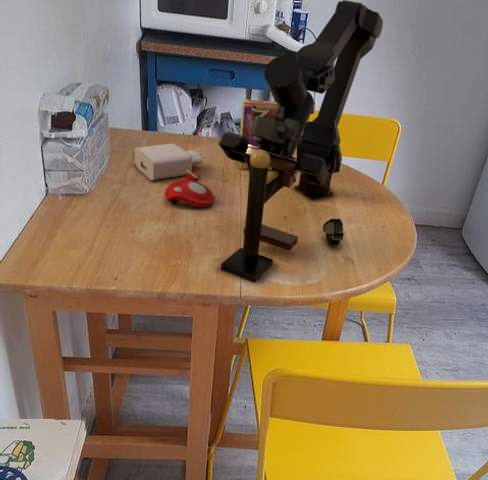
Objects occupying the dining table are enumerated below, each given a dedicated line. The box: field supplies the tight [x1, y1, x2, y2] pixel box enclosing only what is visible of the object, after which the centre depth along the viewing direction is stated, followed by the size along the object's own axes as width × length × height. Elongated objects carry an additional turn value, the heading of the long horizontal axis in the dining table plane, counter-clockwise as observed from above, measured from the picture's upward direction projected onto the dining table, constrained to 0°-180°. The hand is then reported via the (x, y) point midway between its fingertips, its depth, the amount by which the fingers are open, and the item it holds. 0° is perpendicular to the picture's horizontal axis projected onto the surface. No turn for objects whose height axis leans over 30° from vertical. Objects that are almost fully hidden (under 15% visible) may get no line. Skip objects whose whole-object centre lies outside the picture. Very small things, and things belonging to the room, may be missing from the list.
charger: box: [134, 143, 207, 181], centre depth 112 cm, size 5×9×15 cm
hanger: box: [242, 157, 299, 252], centre depth 83 cm, size 3×9×14 cm, turn 64°
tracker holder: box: [164, 170, 215, 208], centre depth 102 cm, size 12×4×10 cm
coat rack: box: [220, 150, 279, 283], centre depth 79 cm, size 10×6×20 cm, turn 154°
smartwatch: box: [322, 218, 345, 247], centre depth 92 cm, size 4×5×5 cm
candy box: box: [237, 98, 278, 171], centre depth 116 cm, size 9×4×15 cm, turn 99°
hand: (254, 203), depth 84 cm, fingers closed on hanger, 2 cm apart
